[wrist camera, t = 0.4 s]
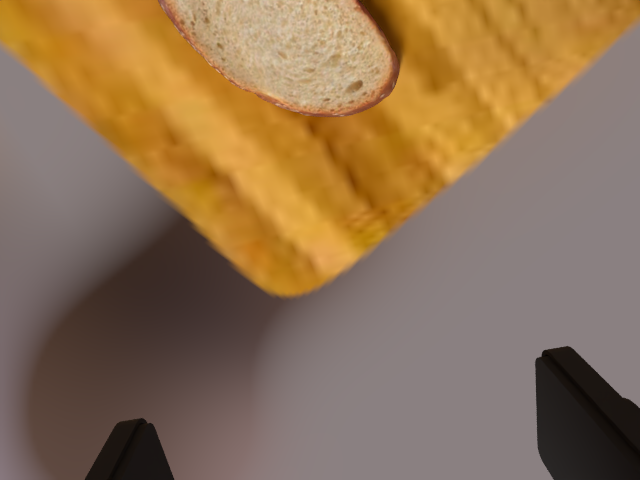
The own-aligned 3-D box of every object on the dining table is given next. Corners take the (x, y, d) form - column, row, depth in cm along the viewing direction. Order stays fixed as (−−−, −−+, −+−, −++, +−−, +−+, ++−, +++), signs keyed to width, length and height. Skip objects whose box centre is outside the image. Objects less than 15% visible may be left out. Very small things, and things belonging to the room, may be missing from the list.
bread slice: (401, 107, 37) (411, 109, 34) (189, 137, 38) (177, 142, 34) (382, -155, 32) (391, -186, 28) (132, -117, 32) (110, -142, 28)
